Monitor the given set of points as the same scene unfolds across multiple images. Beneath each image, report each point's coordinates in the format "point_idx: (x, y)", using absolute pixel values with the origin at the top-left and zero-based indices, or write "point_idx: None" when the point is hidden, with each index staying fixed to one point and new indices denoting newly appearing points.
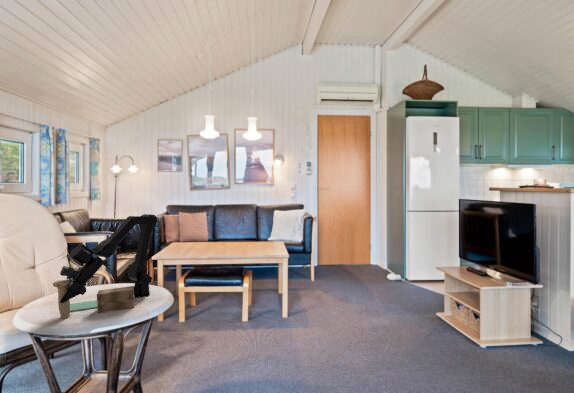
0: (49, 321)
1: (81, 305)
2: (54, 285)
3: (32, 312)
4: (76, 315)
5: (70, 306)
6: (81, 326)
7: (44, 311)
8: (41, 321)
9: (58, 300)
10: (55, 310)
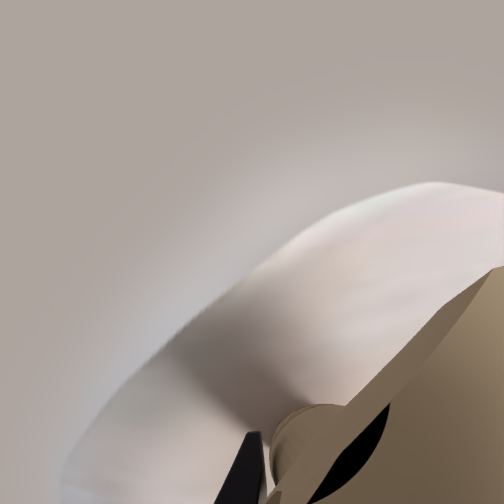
0: (280, 342)
1: None
2: (393, 363)
3: (484, 229)
4: None
5: None
6: (63, 487)
7: None
8: (313, 293)
9: (316, 414)
10: None
